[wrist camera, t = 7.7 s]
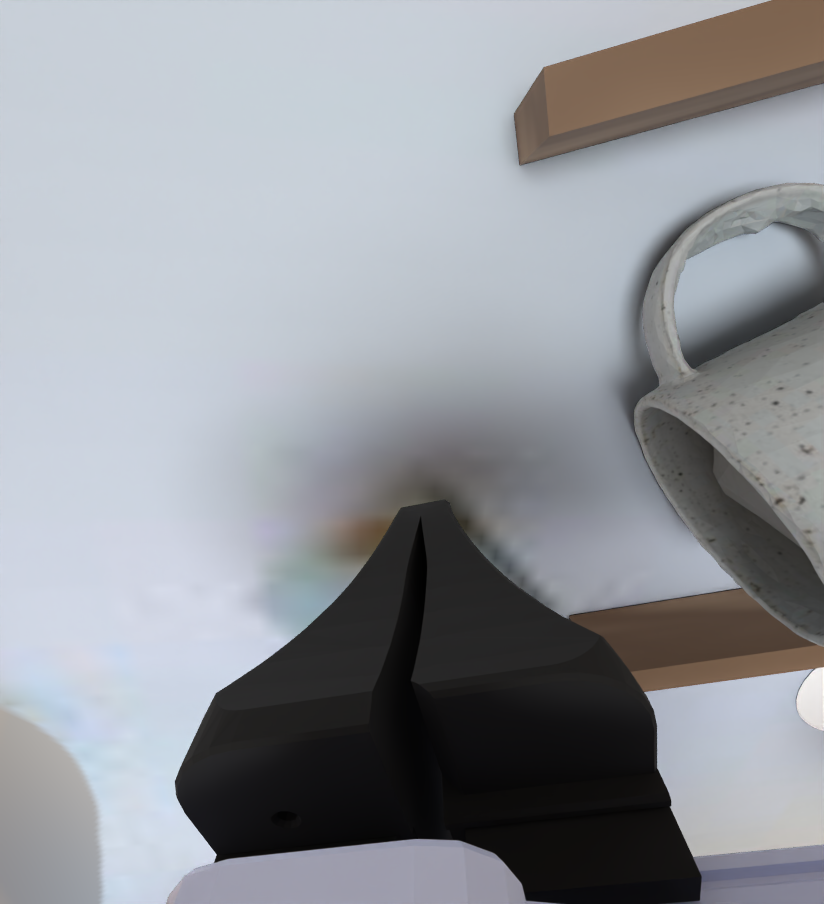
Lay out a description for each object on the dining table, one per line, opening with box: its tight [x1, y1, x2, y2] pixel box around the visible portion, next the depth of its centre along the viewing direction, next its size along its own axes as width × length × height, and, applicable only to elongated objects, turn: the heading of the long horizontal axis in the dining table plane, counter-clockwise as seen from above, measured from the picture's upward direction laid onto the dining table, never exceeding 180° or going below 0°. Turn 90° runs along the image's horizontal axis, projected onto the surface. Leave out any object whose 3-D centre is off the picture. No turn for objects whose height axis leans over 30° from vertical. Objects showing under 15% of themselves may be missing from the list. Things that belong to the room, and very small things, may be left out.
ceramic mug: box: [634, 183, 824, 647], centre depth 11 cm, size 11×8×8 cm
